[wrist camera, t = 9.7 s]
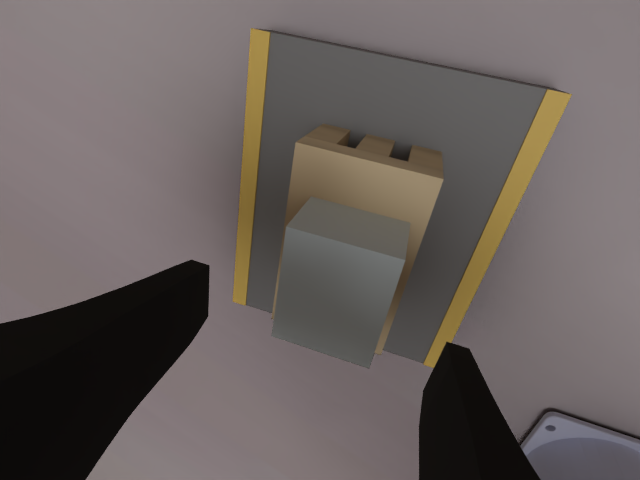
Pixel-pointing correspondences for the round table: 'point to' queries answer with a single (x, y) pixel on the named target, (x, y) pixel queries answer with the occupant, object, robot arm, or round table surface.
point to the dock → (406, 130)
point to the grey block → (338, 279)
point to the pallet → (366, 188)
